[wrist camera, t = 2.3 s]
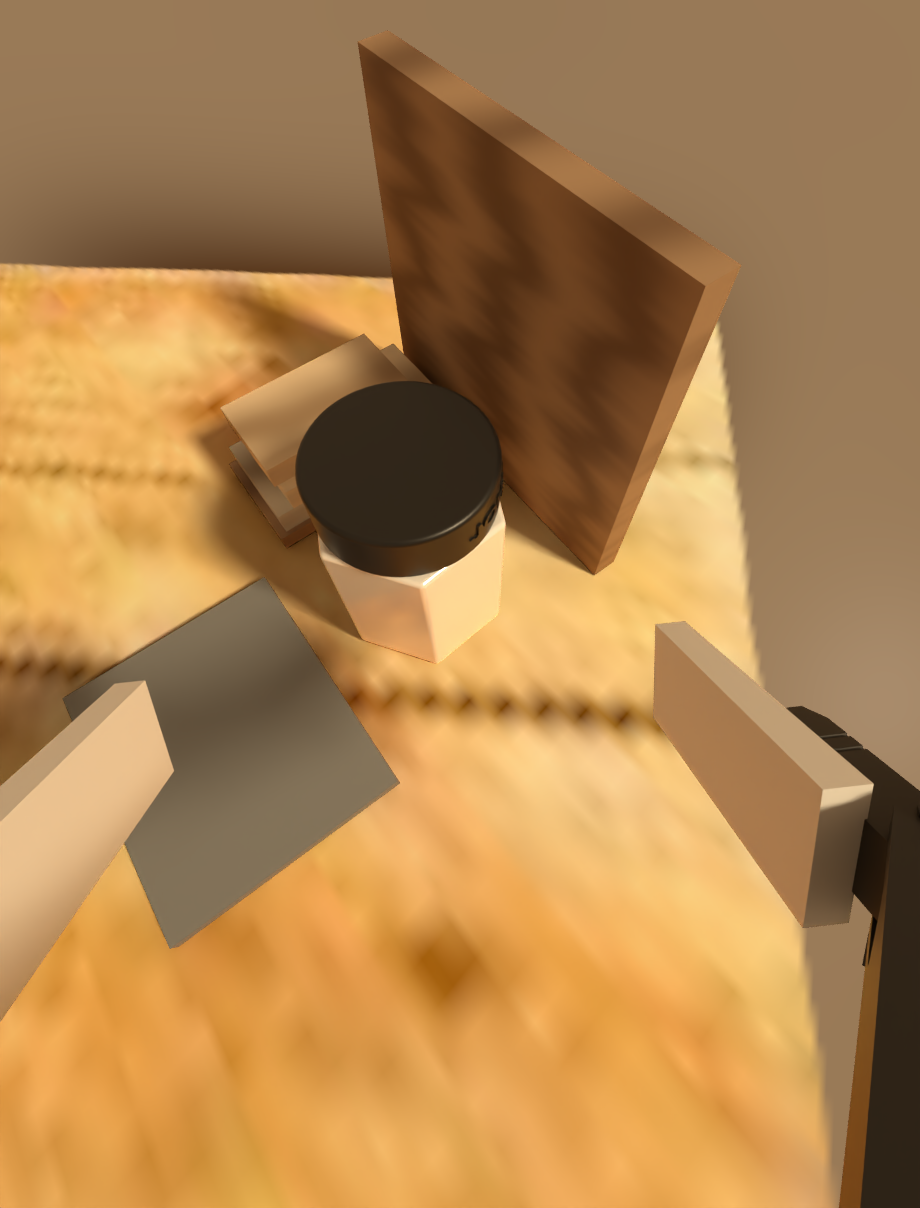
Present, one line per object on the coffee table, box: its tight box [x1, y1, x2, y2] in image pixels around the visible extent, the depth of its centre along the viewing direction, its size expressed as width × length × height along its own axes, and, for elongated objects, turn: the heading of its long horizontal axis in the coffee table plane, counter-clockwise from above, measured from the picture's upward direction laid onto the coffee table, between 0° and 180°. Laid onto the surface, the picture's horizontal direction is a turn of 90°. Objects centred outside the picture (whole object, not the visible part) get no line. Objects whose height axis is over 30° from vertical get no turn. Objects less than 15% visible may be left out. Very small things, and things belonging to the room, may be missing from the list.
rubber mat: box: [63, 577, 400, 949], centre depth 29 cm, size 14×12×1 cm
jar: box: [295, 381, 506, 663], centre depth 27 cm, size 9×8×12 cm
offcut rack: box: [220, 31, 741, 575], centre depth 27 cm, size 20×15×18 cm
